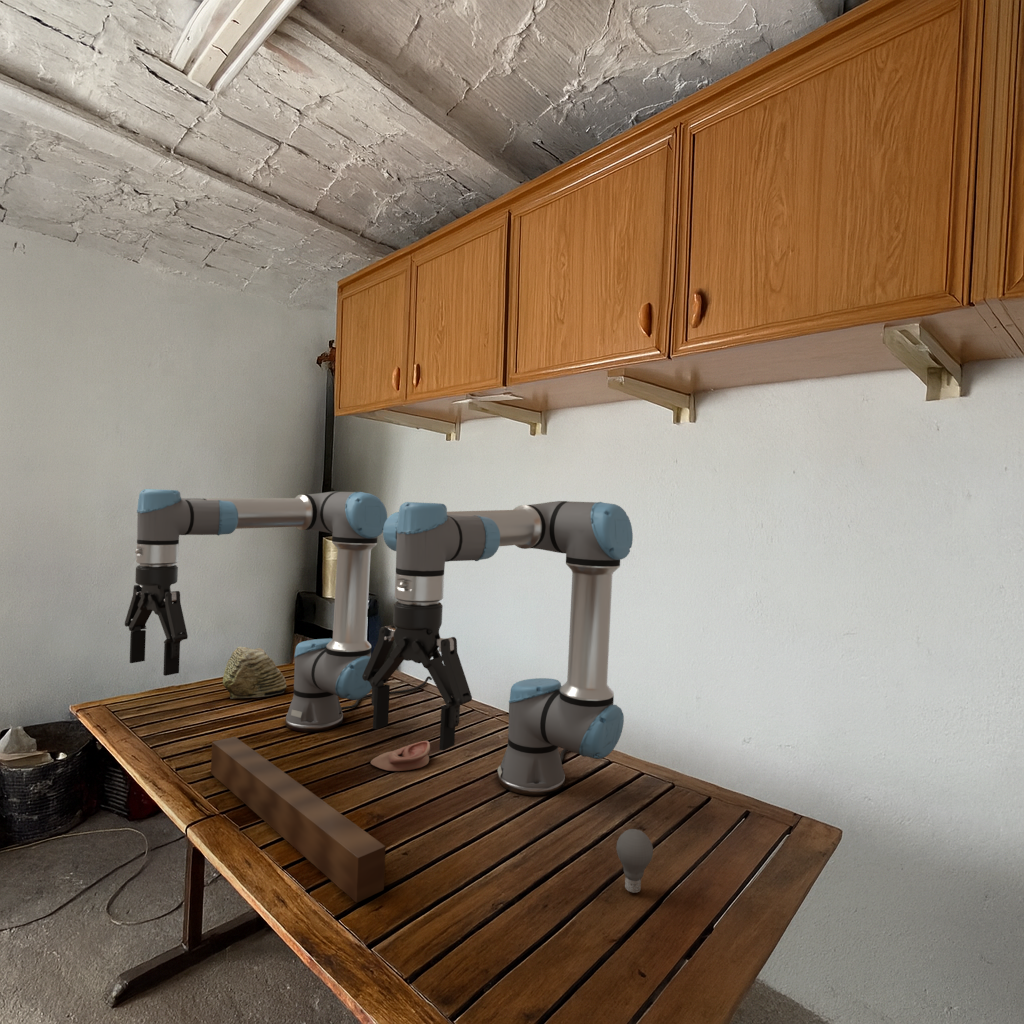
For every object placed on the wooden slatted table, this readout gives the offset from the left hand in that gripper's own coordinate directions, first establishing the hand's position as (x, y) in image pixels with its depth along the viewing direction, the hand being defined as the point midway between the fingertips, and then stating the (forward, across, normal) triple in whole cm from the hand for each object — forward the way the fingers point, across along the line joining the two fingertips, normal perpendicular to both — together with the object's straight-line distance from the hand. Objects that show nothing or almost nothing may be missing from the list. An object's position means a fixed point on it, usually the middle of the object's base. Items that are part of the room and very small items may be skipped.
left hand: (153, 667), depth 130 cm
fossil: (+27, -43, +53) cm, 73 cm away
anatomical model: (+27, +27, +45) cm, 59 cm away
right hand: (0, +65, +7) cm, 66 cm away
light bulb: (+27, +92, +33) cm, 102 cm away
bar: (+27, +29, +11) cm, 41 cm away
